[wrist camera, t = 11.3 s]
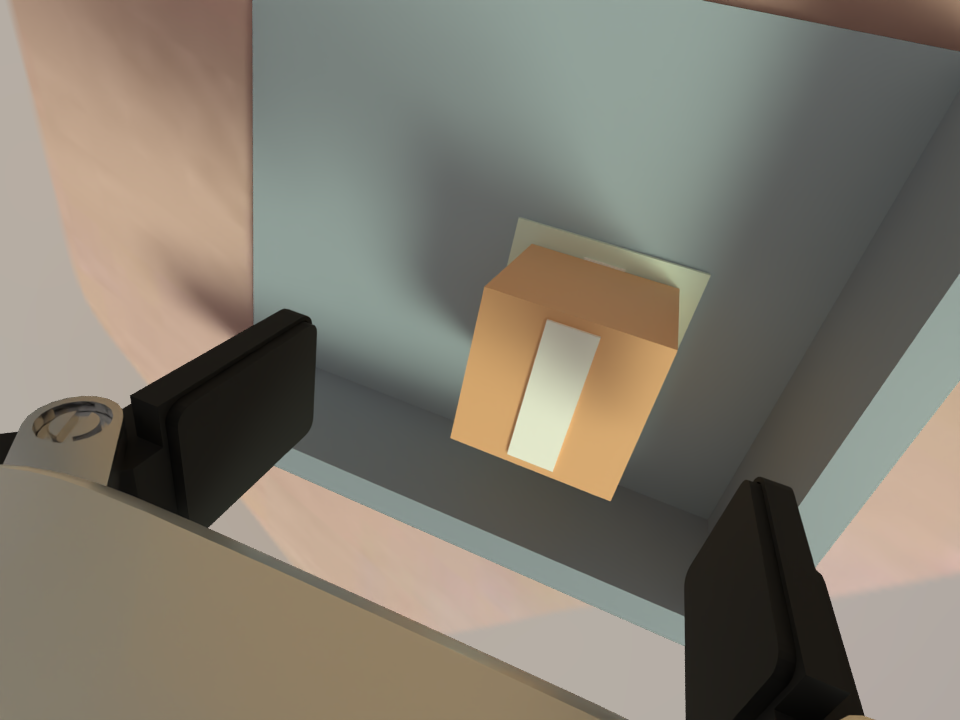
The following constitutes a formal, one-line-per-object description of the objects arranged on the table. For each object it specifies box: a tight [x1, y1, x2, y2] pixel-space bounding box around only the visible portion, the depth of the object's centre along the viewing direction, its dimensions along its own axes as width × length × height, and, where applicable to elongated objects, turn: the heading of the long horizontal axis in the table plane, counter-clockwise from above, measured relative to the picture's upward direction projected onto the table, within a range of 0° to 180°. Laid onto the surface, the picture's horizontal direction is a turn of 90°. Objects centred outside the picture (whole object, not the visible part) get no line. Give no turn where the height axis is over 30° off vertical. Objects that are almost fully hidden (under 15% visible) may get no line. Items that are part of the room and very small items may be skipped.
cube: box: [450, 244, 680, 501], centre depth 16 cm, size 5×5×5 cm
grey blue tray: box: [252, 0, 960, 646], centre depth 17 cm, size 22×17×6 cm
